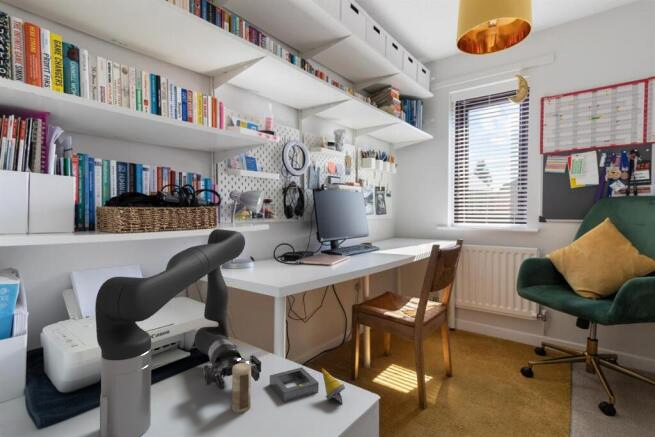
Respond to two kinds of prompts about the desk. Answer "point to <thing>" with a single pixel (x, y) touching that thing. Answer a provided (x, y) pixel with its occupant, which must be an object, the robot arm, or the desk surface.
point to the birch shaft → (241, 387)
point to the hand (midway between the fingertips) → (240, 381)
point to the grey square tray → (295, 391)
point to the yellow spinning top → (332, 387)
